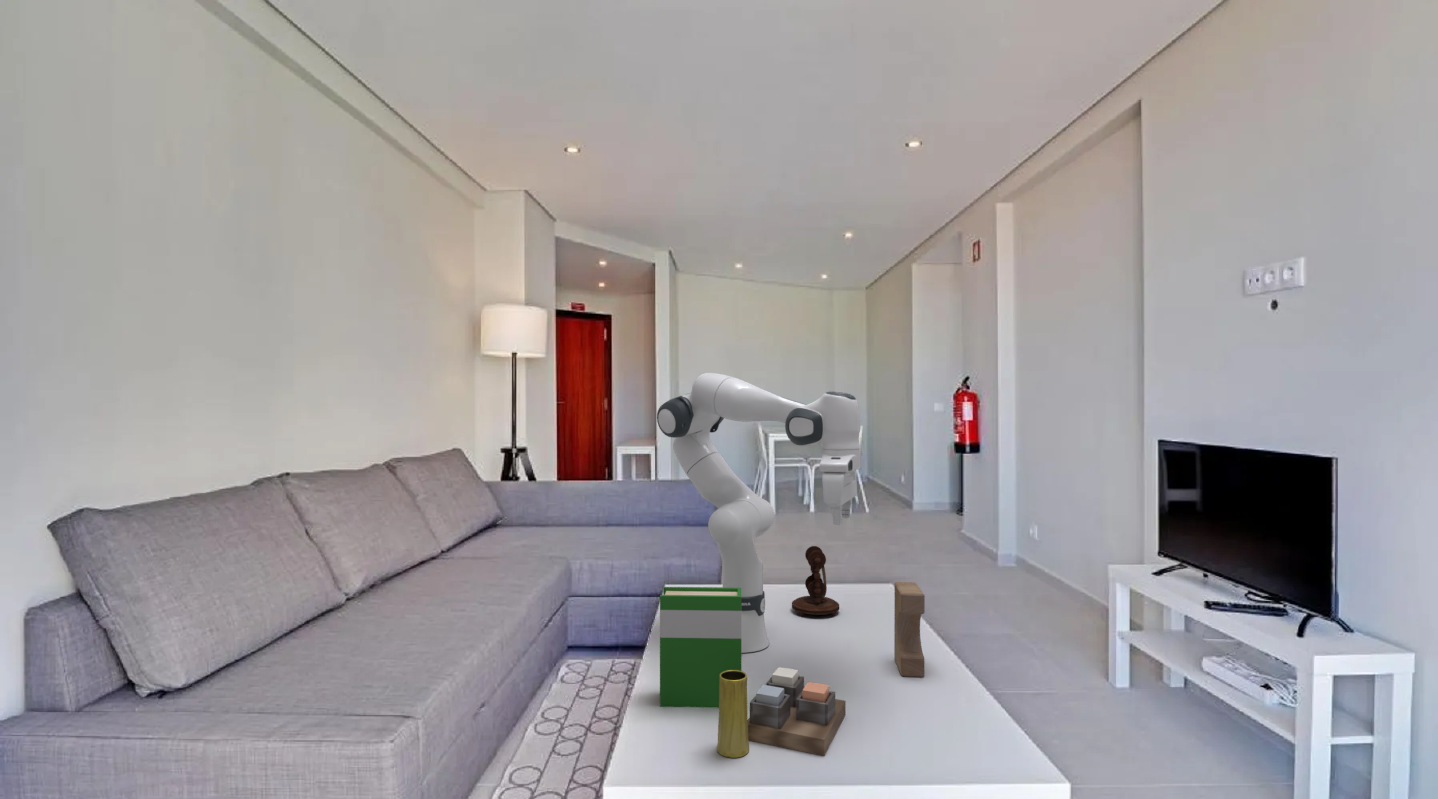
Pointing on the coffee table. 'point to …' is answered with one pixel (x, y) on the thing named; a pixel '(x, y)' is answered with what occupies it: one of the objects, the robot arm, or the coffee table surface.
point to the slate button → (770, 695)
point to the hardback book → (697, 643)
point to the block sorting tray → (796, 720)
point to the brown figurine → (815, 588)
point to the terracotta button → (816, 692)
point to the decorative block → (908, 629)
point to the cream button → (785, 676)
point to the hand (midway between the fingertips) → (842, 520)
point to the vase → (733, 714)
